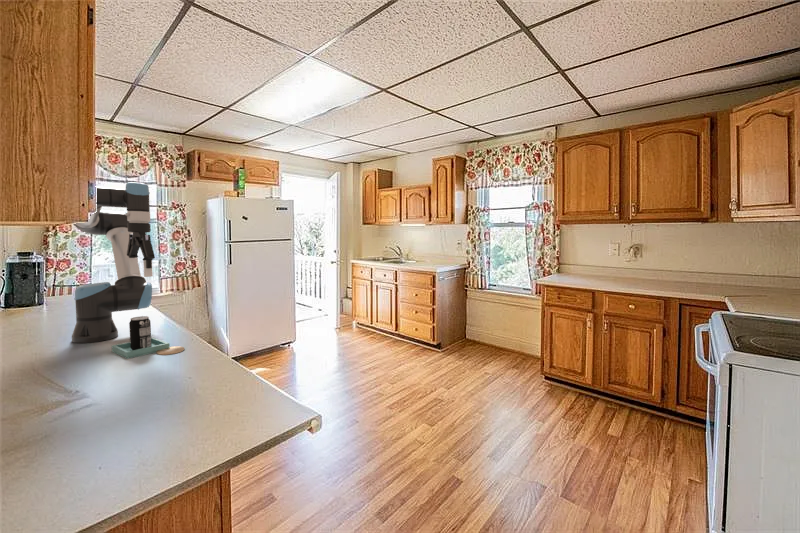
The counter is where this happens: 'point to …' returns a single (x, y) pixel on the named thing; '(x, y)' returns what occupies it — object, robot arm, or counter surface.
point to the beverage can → (140, 332)
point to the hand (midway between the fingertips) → (141, 275)
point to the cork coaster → (170, 350)
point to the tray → (128, 353)
